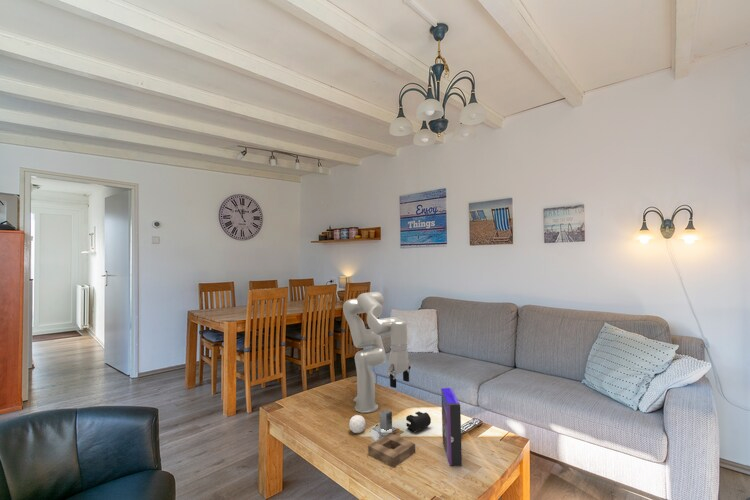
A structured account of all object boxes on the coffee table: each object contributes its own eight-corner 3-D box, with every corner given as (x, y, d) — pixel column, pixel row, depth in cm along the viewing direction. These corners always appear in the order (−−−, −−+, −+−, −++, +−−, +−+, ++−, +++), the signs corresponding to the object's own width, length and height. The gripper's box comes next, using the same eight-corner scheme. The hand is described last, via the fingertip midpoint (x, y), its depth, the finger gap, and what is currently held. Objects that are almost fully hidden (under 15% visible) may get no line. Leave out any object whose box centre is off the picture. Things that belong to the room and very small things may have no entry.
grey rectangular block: (380, 433, 168) (379, 411, 168) (385, 430, 171) (385, 409, 171) (386, 436, 165) (386, 414, 165) (392, 432, 168) (391, 411, 168)
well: (368, 454, 151) (368, 445, 151) (390, 440, 161) (390, 432, 161) (393, 467, 141) (393, 458, 141) (415, 452, 151) (415, 443, 151)
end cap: (416, 435, 165) (416, 420, 165) (405, 429, 171) (405, 415, 171) (431, 428, 172) (430, 414, 172) (420, 423, 177) (420, 409, 177)
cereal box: (442, 442, 158) (441, 388, 159) (453, 442, 158) (452, 387, 158) (449, 466, 141) (448, 404, 141) (461, 466, 141) (460, 404, 141)
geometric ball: (360, 439, 168) (362, 430, 163) (345, 431, 170) (346, 422, 166) (367, 425, 174) (369, 416, 169) (352, 417, 176) (354, 408, 171)
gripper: (403, 342, 176) (404, 377, 176) (380, 350, 163) (381, 387, 163) (416, 344, 171) (417, 380, 171) (393, 352, 158) (394, 391, 158)
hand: (399, 384), depth 167 cm, fingers open, 9 cm apart
